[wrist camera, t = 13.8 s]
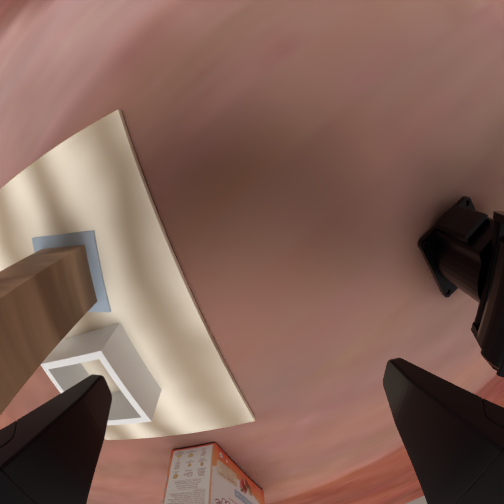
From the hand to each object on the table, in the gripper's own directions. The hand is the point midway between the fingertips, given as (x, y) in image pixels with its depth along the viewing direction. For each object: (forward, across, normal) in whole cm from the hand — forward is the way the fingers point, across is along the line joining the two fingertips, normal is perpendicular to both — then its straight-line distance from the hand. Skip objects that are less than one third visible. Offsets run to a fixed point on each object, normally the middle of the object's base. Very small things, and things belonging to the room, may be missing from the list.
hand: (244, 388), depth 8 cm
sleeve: (+12, +12, +9) cm, 20 cm away
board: (+13, +13, +5) cm, 19 cm away
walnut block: (+12, +14, 0) cm, 18 cm away
